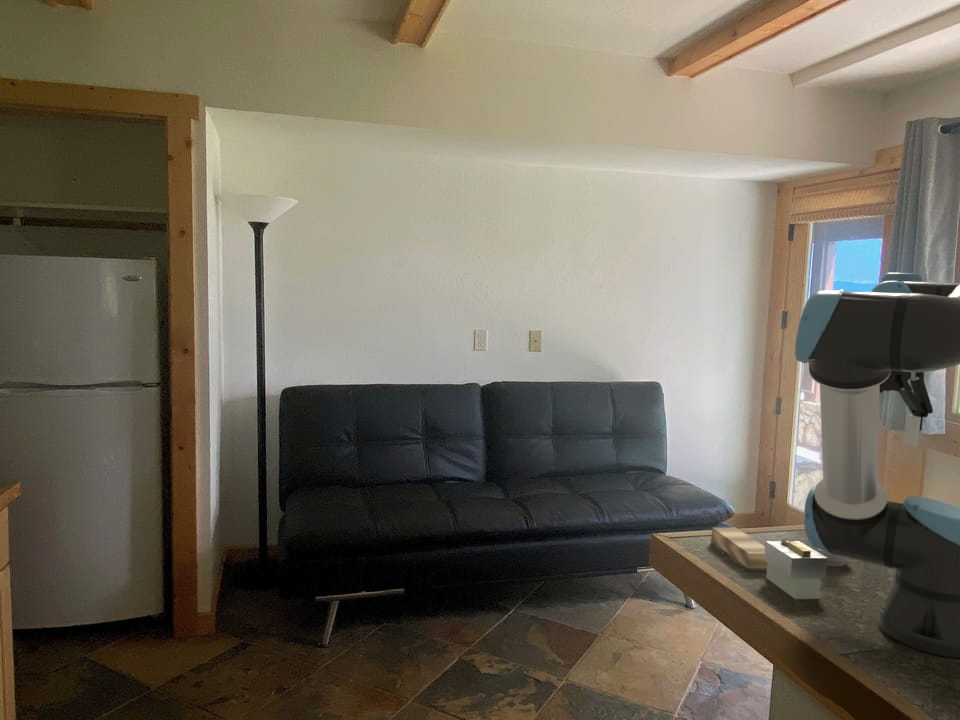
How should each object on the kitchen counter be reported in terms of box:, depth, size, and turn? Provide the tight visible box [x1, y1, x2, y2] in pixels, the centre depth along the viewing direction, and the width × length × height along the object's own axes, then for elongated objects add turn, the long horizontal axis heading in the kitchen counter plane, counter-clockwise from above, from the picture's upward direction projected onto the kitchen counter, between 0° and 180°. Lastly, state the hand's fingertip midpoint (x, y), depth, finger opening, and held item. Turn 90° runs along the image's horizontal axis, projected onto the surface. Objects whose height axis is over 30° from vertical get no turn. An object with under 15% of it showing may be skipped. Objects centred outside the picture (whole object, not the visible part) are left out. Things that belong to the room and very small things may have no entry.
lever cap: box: [764, 538, 828, 579], centre depth 137 cm, size 9×8×5 cm
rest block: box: [765, 563, 822, 600], centre depth 138 cm, size 10×5×4 cm, turn 9°
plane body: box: [710, 527, 768, 573], centre depth 153 cm, size 16×6×4 cm, turn 9°
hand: (883, 445), depth 148 cm, fingers open, 13 cm apart
